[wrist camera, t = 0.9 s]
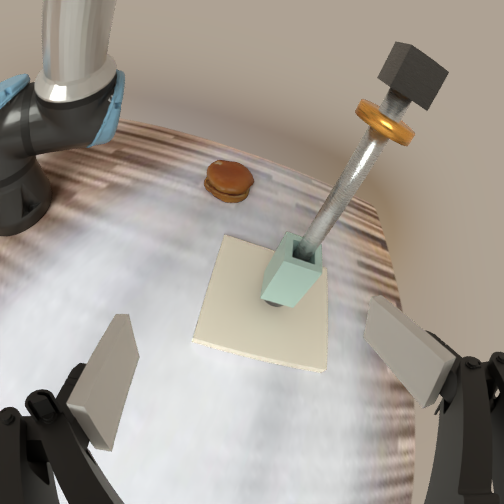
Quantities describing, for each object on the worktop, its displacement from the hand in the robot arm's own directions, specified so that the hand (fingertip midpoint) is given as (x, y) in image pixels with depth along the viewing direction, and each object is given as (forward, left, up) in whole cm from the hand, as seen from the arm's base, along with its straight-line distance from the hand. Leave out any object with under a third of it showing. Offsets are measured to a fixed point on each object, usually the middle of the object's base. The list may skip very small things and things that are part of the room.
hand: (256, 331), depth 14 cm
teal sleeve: (-10, +13, -16) cm, 23 cm away
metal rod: (-10, +13, -19) cm, 25 cm away
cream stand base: (-10, +13, -20) cm, 26 cm away
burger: (-36, +15, -21) cm, 44 cm away
